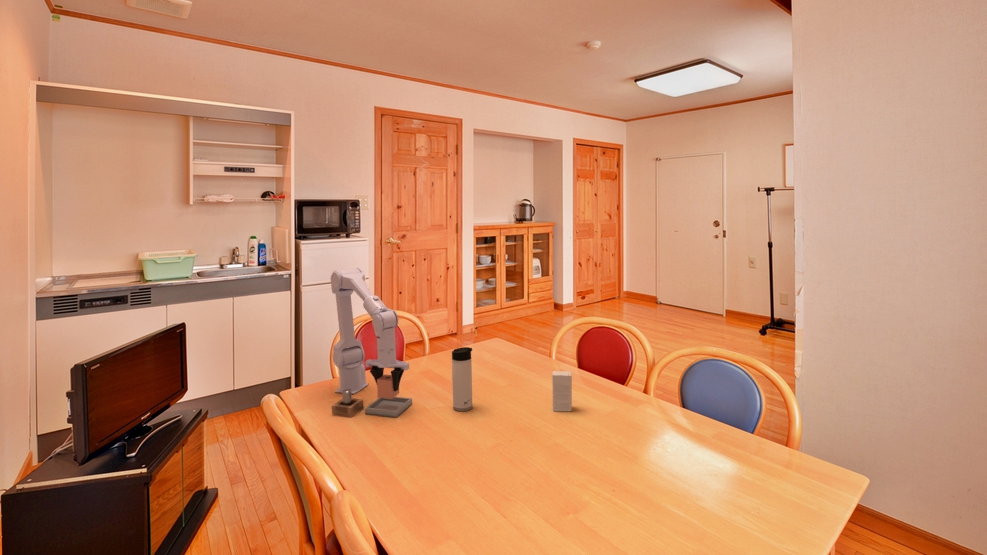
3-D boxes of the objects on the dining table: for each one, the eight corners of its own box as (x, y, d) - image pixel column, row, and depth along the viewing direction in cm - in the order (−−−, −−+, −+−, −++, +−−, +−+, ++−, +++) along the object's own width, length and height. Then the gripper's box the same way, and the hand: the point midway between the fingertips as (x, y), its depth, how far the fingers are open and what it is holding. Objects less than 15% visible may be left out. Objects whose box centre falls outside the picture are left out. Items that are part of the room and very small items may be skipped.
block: (385, 391, 157) (384, 374, 156) (399, 393, 156) (398, 375, 155) (377, 397, 152) (376, 379, 152) (391, 399, 151) (391, 380, 150)
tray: (382, 400, 162) (382, 395, 161) (412, 404, 158) (412, 398, 158) (365, 414, 151) (364, 408, 151) (396, 417, 148) (396, 411, 148)
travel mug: (470, 412, 151) (469, 351, 149) (450, 411, 153) (449, 350, 150) (475, 404, 157) (474, 345, 155) (456, 403, 159) (454, 345, 156)
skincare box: (570, 406, 155) (571, 371, 153) (571, 412, 151) (572, 375, 149) (552, 406, 155) (552, 370, 154) (552, 411, 151) (552, 375, 150)
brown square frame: (345, 406, 158) (344, 397, 157) (363, 408, 156) (363, 399, 155) (332, 414, 151) (331, 405, 151) (351, 417, 149) (351, 408, 149)
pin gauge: (346, 409, 155) (345, 388, 154) (354, 410, 154) (353, 389, 153) (341, 412, 152) (340, 392, 151) (349, 413, 152) (348, 392, 151)
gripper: (359, 350, 150) (361, 391, 152) (401, 353, 146) (403, 396, 148) (371, 344, 157) (373, 384, 159) (411, 347, 153) (413, 387, 155)
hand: (388, 389), depth 154 cm, fingers closed on block, 5 cm apart
